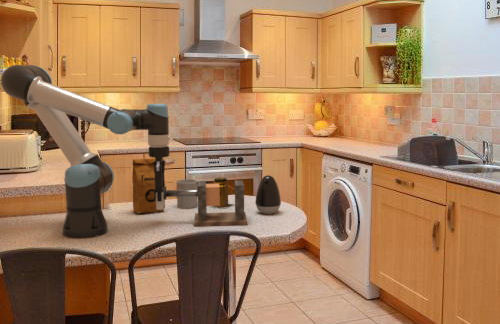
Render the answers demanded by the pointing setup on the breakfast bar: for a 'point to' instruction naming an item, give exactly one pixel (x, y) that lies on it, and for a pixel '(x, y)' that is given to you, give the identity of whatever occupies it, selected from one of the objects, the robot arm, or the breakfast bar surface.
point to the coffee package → (144, 186)
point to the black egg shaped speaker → (268, 196)
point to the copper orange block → (223, 192)
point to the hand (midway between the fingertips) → (160, 207)
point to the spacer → (212, 195)
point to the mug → (187, 201)
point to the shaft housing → (220, 218)
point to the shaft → (178, 193)
